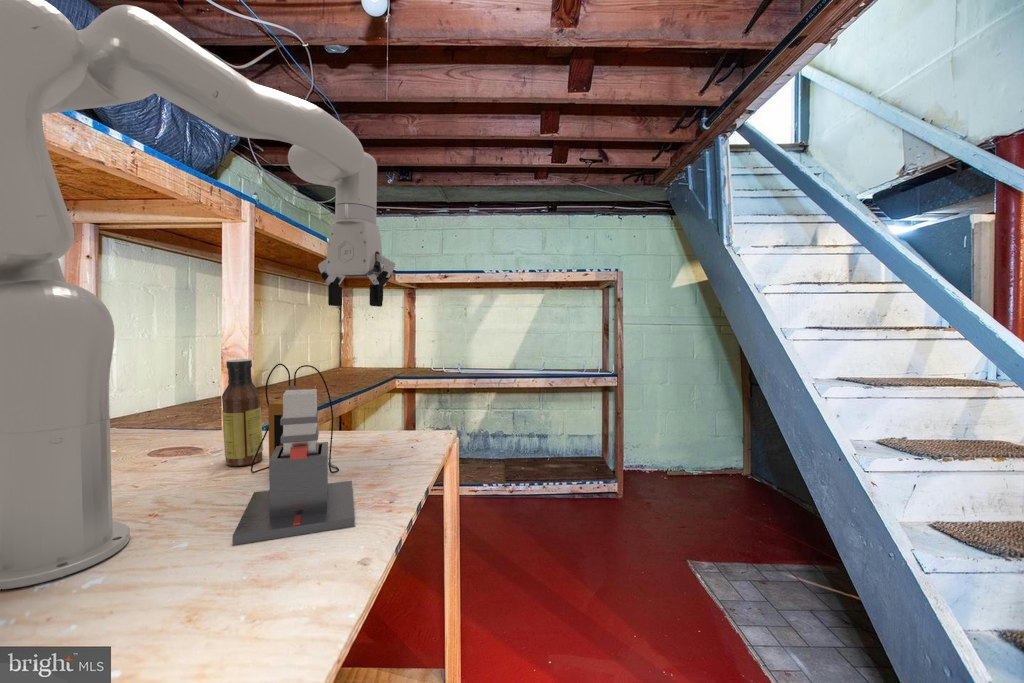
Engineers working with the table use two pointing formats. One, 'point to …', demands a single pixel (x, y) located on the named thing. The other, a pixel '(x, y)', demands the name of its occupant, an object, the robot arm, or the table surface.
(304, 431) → the column
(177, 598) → the table surface
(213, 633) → the table surface
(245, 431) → the sauce bottle
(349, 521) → the stand base
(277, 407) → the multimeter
